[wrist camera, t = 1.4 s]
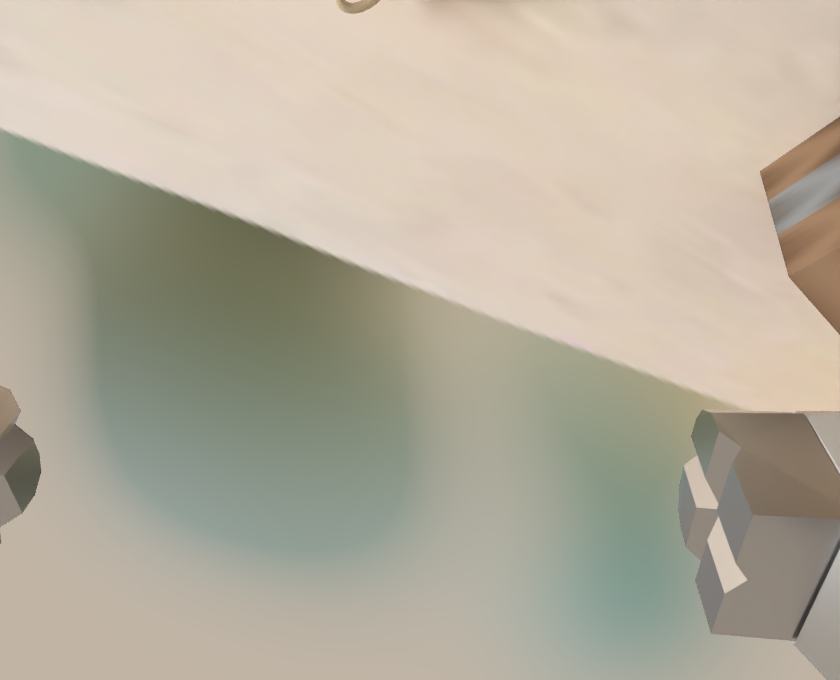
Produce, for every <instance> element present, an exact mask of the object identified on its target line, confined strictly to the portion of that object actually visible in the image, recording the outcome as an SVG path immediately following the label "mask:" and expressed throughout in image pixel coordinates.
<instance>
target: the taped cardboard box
mask: <svg viewBox="0 0 840 680" xmlns="http://www.w3.org/2000/svg"><path fill="white" fill-rule="evenodd" d="M760 174H761V177H762V181H763V185H764V188H765V192H766V195H767V199H768V203H769V206H770V210H771V214H772V217H773V221H774V225H775V228H776V232H777V235H778V239H779V243H780V246H781V250H782V254H783V257H784V261H785V265H786V268H787V272H788V276H789V278H790V279H791V280H792V281H793V282H794V283H795V284H796V286H797V287H798V288H799V289H800V290H801V291H802V292H803V293H804V295H805V296H806V297H807V298H808V299H809V300H810V301H811V303H812V304H813V305H814V306H815V307H816V308H817V309H818V311H819V312H820V313H821V314H822V315H823V316H824V317H825V318H826V320H827V321H828V322H829V323H830V324H831V325H832V326H833V328H834V329H835V330H836V331H837V332H838V333H839V334H840V117H839V118H837V119H836V120H835V121H833V122H832V123H830V124H829V125H827V126H826V127H824V128H823V129H821V130H820V131H819V132H817V133H816V134H814V135H813V136H811V137H810V138H808V139H807V140H805V141H804V142H803V143H801V144H800V145H798V146H797V147H795V148H794V149H792V150H791V151H789V152H788V153H787V154H785V155H784V156H782V157H781V158H779V159H778V160H776V161H775V162H773V163H772V164H771V165H769V166H768V167H766V168H765V169H763V170H762V171H760Z"/></svg>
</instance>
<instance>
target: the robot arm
mask: <svg viewBox="0 0 840 680" xmlns="http://www.w3.org/2000/svg"><path fill="white" fill-rule="evenodd" d="M20 411H21V410H20V408H19V406H18V404H17V402H16V400H15V398H14V396H13V394H12V392H11V390H10V389H7V388H5V387H2V386H0V527H1V526H2V525H4V524H6V523H7V522H9V521H11V520H12V519H14V518H15V517H17V516H19V515H20V514H22V513H23V512H24V510H25V509H26V507H27V505H28V504H29V503H30V501H31V500H32V498H33V497H34V495H35V493H36V489H37V485H38V481H39V478H40V474H41V465H40V456H39V452H38V449H37V447H36V444H35V442H34V440H33V438H32V437H30V436H29V435H28V434H27V433H25V432H24V431H23V430H22V429H21V428H19V427H18V426H17V425H16V424H15V423H16V421H17V419H18V416H19V414H20ZM691 438H692V441H693V444H694V447H695V449H696V452H697V456H695V457H694V458H693V459H691V460H690V461H689V462H688V463H686V464H685V465H684V466H683V471H682V475H681V480H680V484H679V501H678V512H679V519H680V526H681V531H682V534H683V538H684V542H685V546H686V547H687V548H688V549H689V550H690V551H691V552H692V553H693V554H694V555H695V556H697V557H698V558H699V559H700V560H701V563H700V566H699V569H698V573H697V576H696V580H695V581H696V584H697V588H698V591H699V594H700V598H701V601H702V604H703V608H704V611H705V615H706V618H707V621H708V625H709V628H710V632H711V634H721V635H732V636H733V635H734V636H744V637H756V638H767V639H779V640H790V641H796V642H795V644H794V645H795V646H796V647H797V648H798V649H799V651H800V652H801V653H802V654H803V655H804V656H805V657H806V658H807V659H808V660H809V661H810V662H811V663H812V664H813V666H814V667H815V668H816V669H817V670H818V671H819V672H820V673H821V674H822V675H823V676H824V677H825V679H826V680H840V412H831V411H796V412H795V413H794V412H771V411H737V410H704V409H703V410H702V411H701V412H700V414H699V415H698V417H697V418H696V421H695V424H694V428H693V432H692V435H691ZM0 543H1V536H0Z"/></svg>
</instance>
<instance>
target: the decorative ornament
mask: <svg viewBox="0 0 840 680" xmlns="http://www.w3.org/2000/svg"><path fill="white" fill-rule="evenodd" d="M334 1H335V3H336V5H337V6H338V7H339V9H341V10H342V11H344V12H346V13H360V12H363V11H366V10H368V9H370V8H371V7H373V6H374V5H376V4H377V3H378V2H379V1H380V0H361V1H359V2H356V3H349V2H346V1H345V0H334Z"/></svg>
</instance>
